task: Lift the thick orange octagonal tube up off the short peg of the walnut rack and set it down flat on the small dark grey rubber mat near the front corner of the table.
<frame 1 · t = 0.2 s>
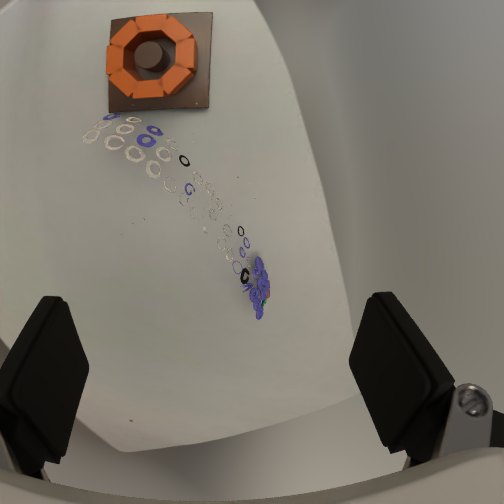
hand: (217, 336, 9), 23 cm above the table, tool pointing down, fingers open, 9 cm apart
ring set: (210, 205, 31), on the table
orange octagonal tube: (157, 60, 23), point 1 cm above the table, touching rack
rack: (160, 61, 24), on the table
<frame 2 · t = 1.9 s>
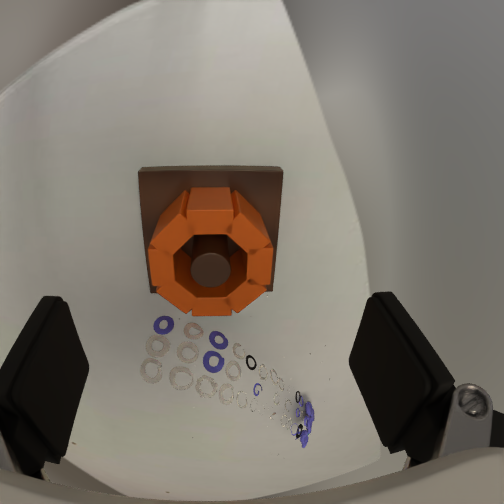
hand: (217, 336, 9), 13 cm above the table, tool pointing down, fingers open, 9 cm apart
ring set: (264, 364, 30), on the table
orange octagonal tube: (210, 236, 21), point 1 cm above the table, touching rack
rack: (210, 229, 22), on the table
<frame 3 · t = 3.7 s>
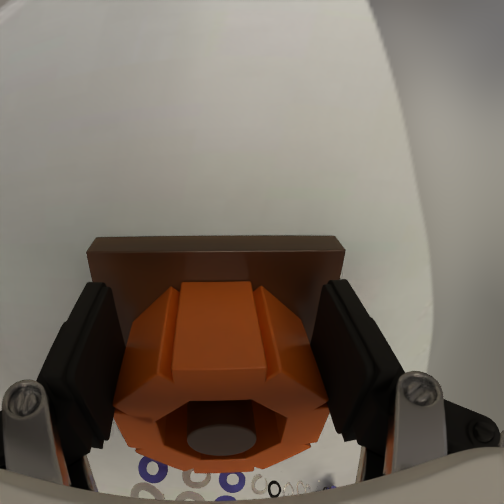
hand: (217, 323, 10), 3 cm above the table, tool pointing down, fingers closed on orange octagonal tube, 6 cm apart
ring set: (284, 458, 21), on the table
orange octagonal tube: (217, 351, 13), point 1 cm above the table, touching gripper, rack
rack: (216, 331, 14), on the table
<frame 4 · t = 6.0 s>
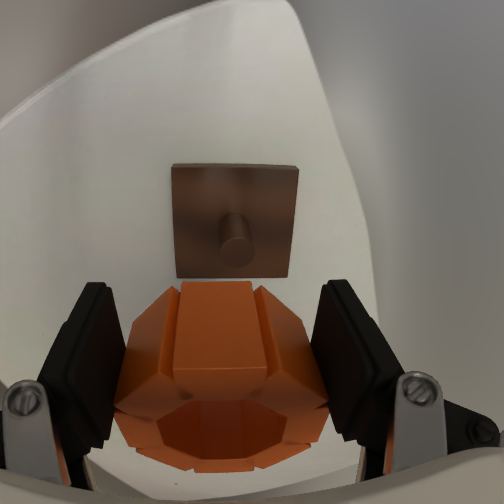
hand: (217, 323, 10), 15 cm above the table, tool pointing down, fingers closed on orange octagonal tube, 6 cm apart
orange octagonal tube: (217, 351, 13), point 14 cm above the table, touching gripper
rack: (233, 220, 25), on the table
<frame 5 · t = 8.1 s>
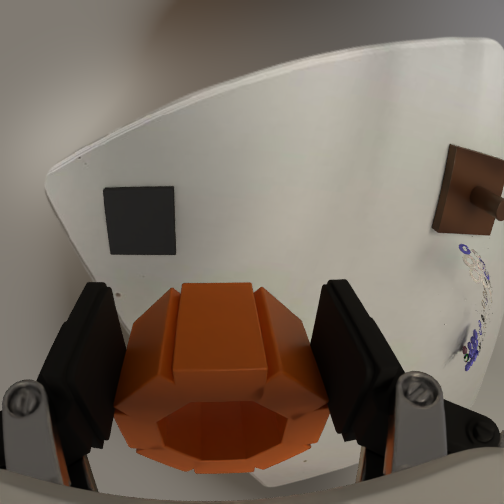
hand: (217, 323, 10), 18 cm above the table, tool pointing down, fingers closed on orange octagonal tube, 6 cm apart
mat: (140, 220, 26), on the table
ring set: (460, 297, 35), on the table
orange octagonal tube: (218, 352, 13), point 16 cm above the table, touching gripper
rack: (470, 191, 28), on the table
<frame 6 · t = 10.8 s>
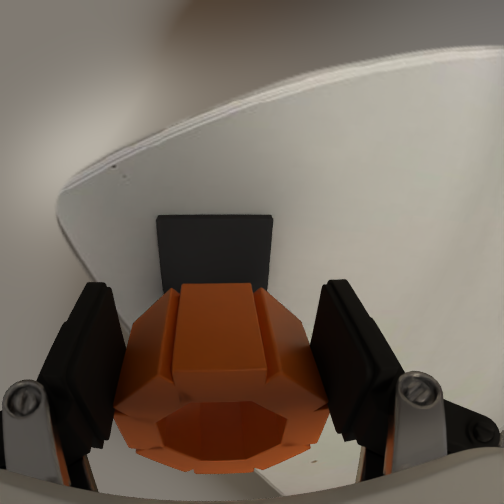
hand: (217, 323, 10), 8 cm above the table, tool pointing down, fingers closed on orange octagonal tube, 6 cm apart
mat: (214, 264, 18), on the table
orange octagonal tube: (217, 352, 13), point 7 cm above the table, touching gripper
when the fingers open (2 cm above the table, at t = 12.7 s): orange octagonal tube stays where it is, resting on mat.
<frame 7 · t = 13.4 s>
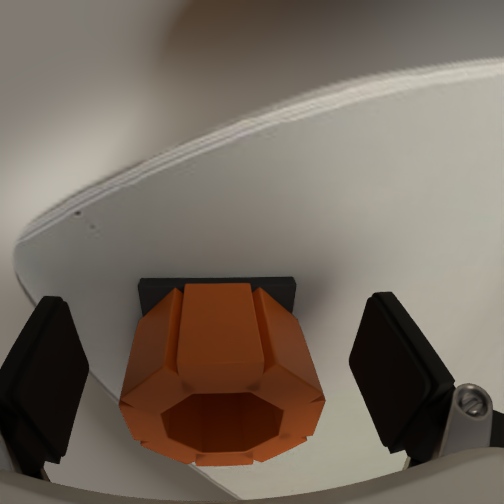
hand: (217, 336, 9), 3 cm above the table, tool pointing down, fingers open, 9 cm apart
mat: (217, 335, 14), on the table
orange octagonal tube: (218, 349, 13), point 1 cm above the table, touching mat
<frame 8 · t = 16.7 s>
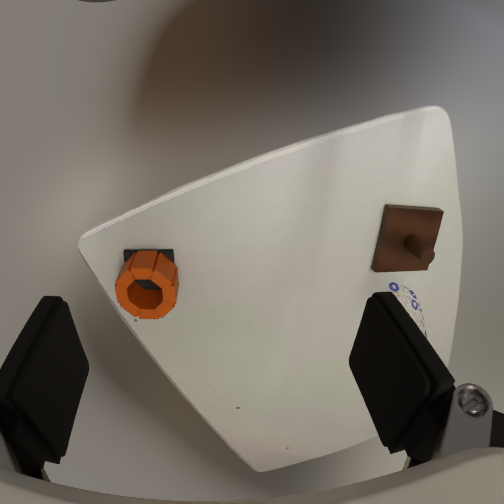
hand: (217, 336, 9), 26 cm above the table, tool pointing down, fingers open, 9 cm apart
mat: (150, 271, 38), on the table
orange octagonal tube: (150, 275, 37), point 1 cm above the table, touching mat
rack: (406, 237, 40), on the table
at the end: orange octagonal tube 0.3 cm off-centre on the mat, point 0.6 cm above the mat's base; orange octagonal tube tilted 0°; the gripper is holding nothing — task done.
